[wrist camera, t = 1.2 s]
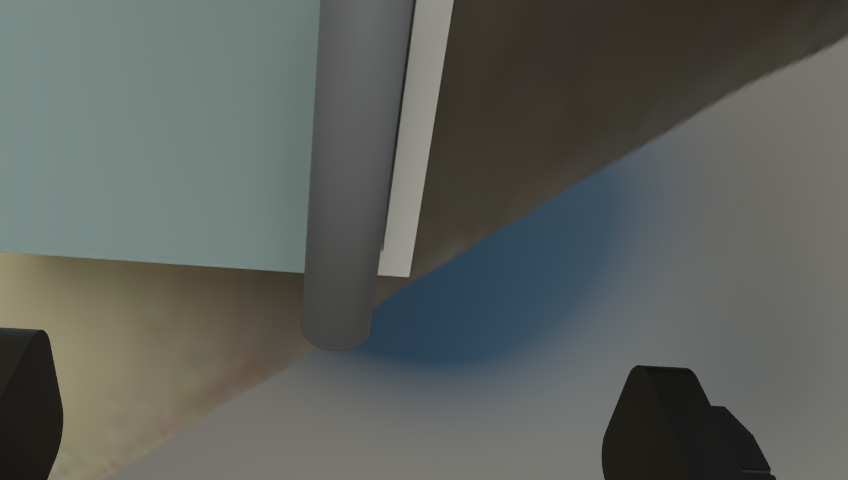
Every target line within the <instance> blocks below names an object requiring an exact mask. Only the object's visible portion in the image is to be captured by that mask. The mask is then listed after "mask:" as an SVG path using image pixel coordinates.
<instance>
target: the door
mask: <svg viewBox="0 0 848 480" xmlns="http://www.w3.org/2000/svg"><path fill="white" fill-rule="evenodd" d="M412 6H413V0H0V252H7V253H21V254H36V255H50V256H65V257H79V258H93V259H108V260H122V261H137V262H151V263H166V264H180V265H195V266H209V267H224V268H238V269H253V270H267V271H282V272H296V273H304V285H303V302H302V319H301V330H302V333H303V335H304V337H305V338H306V339H307V340H308V341H309V342H310V343H311V344H313V345H315V346H316V347H319V348H321V349H325V350H329V351H346V350H350V349H354V348H356V347H358V346H360V345H361V344H362V343H364V342H365V341H366V340H367V338H368V336H369V334H370V328H371V321H372V314H373V306H374V298H375V291H376V283H377V275H378V267H379V260H380V252H381V244H382V237H383V229H384V221H385V214H386V206H387V198H388V191H389V183H390V175H391V167H392V160H393V152H394V144H395V137H396V129H397V121H398V114H399V106H400V98H401V91H402V83H403V75H404V67H405V60H406V52H407V44H408V37H409V29H410V21H411V14H412Z"/></svg>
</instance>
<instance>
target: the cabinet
mask: <svg viewBox="0 0 848 480" xmlns="http://www.w3.org/2000/svg"><path fill="white" fill-rule="evenodd" d="M453 1H454V0H413V6H412V14H411V21H410V29H409V37H408V44H407V52H406V60H405V67H404V75H403V83H402V91H401V98H400V106H399V114H398V121H397V129H396V137H395V144H394V152H393V160H392V167H391V175H390V183H389V191H388V198H387V206H386V214H385V221H384V229H383V237H382V244H381V252H380V260H379V267H378V275H384V276H398V277H409V275H410V269H411V263H412V256H413V250H414V244H415V238H416V231H417V225H418V219H419V213H420V207H421V200H422V194H423V188H424V182H425V175H426V169H427V163H428V157H429V151H430V144H431V138H432V132H433V126H434V119H435V113H436V107H437V101H438V95H439V88H440V82H441V76H442V70H443V63H444V57H445V51H446V45H447V39H448V32H449V26H450V20H451V14H452V7H453Z"/></svg>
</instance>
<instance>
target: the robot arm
mask: <svg viewBox="0 0 848 480" xmlns="http://www.w3.org/2000/svg"><path fill="white" fill-rule="evenodd" d="M62 430H63V408H62V402H61V397H60V392H59V387H58V381H57V376H56V371H55V366H54V361H53V356H52V351H51V345H50V341H49V337H48V335H47V333H46V332H45V331H44V330H34V329H16V328H0V480H47V479H48V476H49V474H50V471H51V469H52V466H53V464H54V461H55V459H56V456H57V453H58V450H59V446H60V442H61V437H62ZM602 468H603V474H604V478H605V480H776V478H775V476H773V475H771V474H770V470H771V469H770V466H769V465H768V463H767V461H766V459H765V457H764V455H763V453H762V451H761V449H760V448H759V446H758V444H757V442H756V440H755V439H754V436H753V435H752V434H751V433H750V432H749V431H748V430H747V429H746V428H745V427H744V426H743V425H742V424H741V423H740V422H739V421H738V420H737V419H736V418H735V417H734V416H733V415H732V414H731V413H730V412H729V411H728V410H727V409H726V408H725V407H721V406H720V407H719V406H711V405H710V403H709V401H708V399H707V397H706V395H705V393H704V391H703V389H702V387H701V385H700V383H699V381H698V379H697V377H696V375H695V374H694V373H693V371H691V370H690V369H688V368H677V367H676V368H675V367H659V366H641V365H638V366H635V367H634V368H633V369H632V370H631V372H630V374H629V376H628V378H627V380H626V383H625V386H624V388H623V391H622V393H621V395H620V398H619V400H618V403H617V405H616V408H615V410H614V413H613V415H612V418H611V420H610V422H609V425H608V428H607V430H606V432H605V435H604V439H603V445H602Z"/></svg>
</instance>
